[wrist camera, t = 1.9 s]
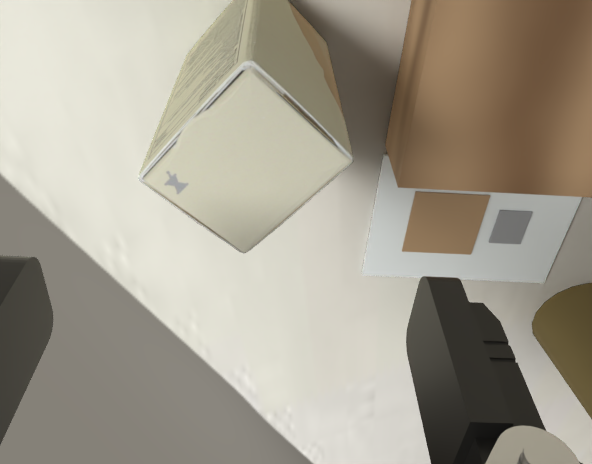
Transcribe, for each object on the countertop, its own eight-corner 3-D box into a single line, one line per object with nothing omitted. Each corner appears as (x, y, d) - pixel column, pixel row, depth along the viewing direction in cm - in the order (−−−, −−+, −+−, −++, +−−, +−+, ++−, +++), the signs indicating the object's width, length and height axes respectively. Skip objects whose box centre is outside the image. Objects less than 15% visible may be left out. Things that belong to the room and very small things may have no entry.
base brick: (385, 144, 28) (397, 187, 25) (421, -54, 23) (444, -33, 19) (559, 154, 28) (594, 197, 25) (636, -38, 23) (692, -15, 20)
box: (253, 116, 27) (237, 264, 18) (182, 54, 25) (126, 184, 16) (333, 38, 25) (360, 163, 16) (262, -36, 23) (247, 57, 14)
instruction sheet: (361, 273, 33) (362, 276, 33) (383, 153, 28) (384, 156, 28) (542, 280, 34) (544, 284, 33) (594, 165, 29) (596, 168, 29)
